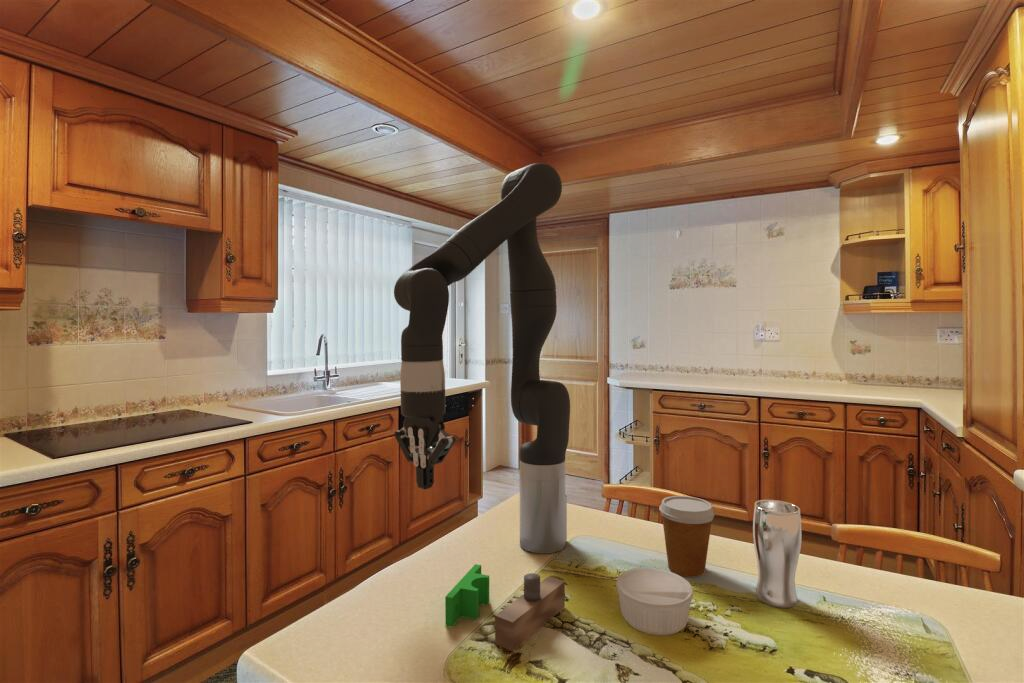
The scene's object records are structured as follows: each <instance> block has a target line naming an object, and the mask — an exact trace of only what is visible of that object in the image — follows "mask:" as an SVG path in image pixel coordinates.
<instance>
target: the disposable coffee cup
mask: <svg viewBox="0 0 1024 683" xmlns="http://www.w3.org/2000/svg"><path fill="white" fill-rule="evenodd" d="M658 509H659V511H660V514H661V518H662V526H663V534H664V541H665V542H664V543H665V550H666V557H667V567H668V569H669V571H670V572H672V573H675V574H677V575H679V576H681V577H687V578H688V577H689V578H690V577H691V578H695V577H701V576H703V575H704V574H705V572H706V571H705V570H706V564H707V558H708V552H709V551H708V549H709V542H710V535H711V529H712V521H713V520H714V517H715V514H716V513H715V511H714V510H713V505H712V504H711V503H710V502H709V501H707V500H705V499H703V498H698V497H695V496H689V495H673V496H667V497H664V498H663V499H662V500H661V504H660V505H659V507H658Z"/></svg>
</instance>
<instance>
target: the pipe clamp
mask: <svg viewBox="0 0 1024 683" xmlns="http://www.w3.org/2000/svg"><path fill="white" fill-rule="evenodd" d="M489 604H490V575H489V574H483V573H482V564H477V563H475V564H474V565H473V566H472V567H471V568H470V569H469V570H468V571H467V573H465V575H463V577H462V578H461V579H460V580H459V581H458V582H457V583H456V585H454V586H453V587H452V589H451V590H450V591H449V592H448V593H447V594H446V596H445V604H444V605H445V612H444V613H445V616H444V617H445V626H446V627H449V628H453V627H454V626H455V625H456V624H457V622H458V621H459V619H461V617H462V618H467V619H472V620H478V619H479V616H480V614H479V613H480V612H479V611H480V610H479V609H480V608H479V606H481V605H485V606H486V605H489Z"/></svg>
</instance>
